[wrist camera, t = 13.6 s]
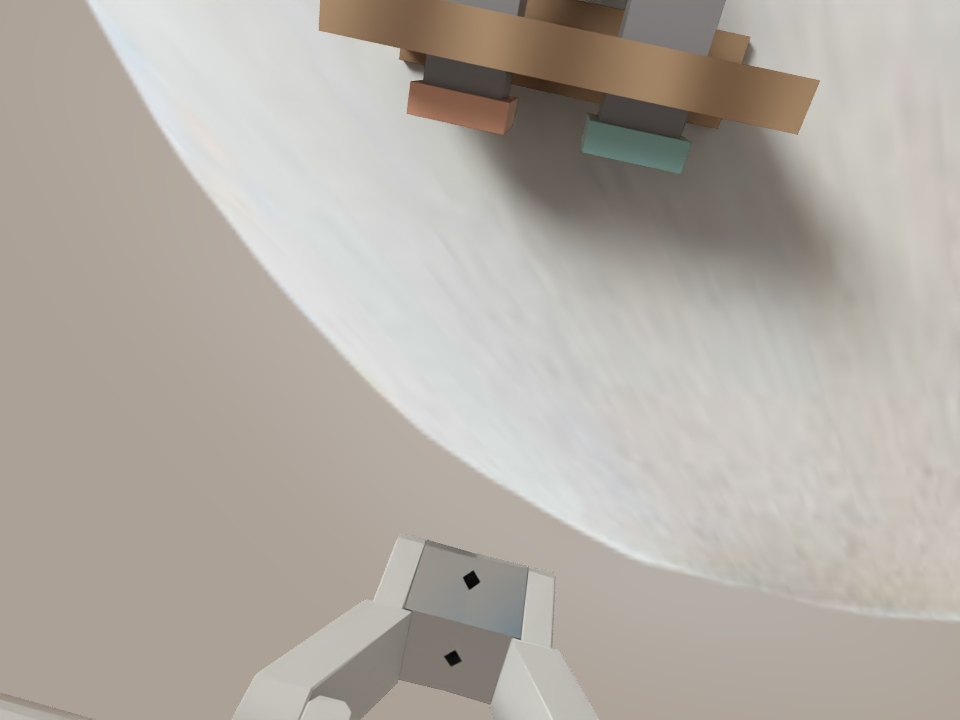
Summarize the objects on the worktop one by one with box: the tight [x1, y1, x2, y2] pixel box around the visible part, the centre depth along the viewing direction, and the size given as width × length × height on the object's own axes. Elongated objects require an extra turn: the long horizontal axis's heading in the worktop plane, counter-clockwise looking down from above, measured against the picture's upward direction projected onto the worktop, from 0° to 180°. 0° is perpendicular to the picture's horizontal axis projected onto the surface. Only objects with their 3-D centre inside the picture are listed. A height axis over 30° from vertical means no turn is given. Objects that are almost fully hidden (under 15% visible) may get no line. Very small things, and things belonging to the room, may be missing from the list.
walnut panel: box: [319, 0, 820, 135], centre depth 30 cm, size 20×5×14 cm, turn 79°
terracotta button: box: [407, 0, 528, 135], centre depth 30 cm, size 5×8×5 cm, turn 169°
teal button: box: [581, 0, 726, 174], centre depth 30 cm, size 5×8×5 cm, turn 169°
